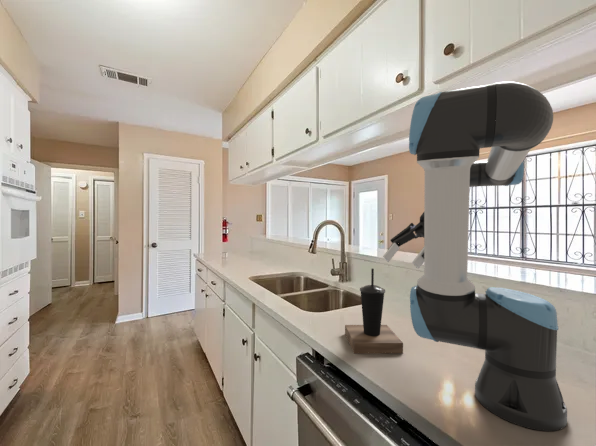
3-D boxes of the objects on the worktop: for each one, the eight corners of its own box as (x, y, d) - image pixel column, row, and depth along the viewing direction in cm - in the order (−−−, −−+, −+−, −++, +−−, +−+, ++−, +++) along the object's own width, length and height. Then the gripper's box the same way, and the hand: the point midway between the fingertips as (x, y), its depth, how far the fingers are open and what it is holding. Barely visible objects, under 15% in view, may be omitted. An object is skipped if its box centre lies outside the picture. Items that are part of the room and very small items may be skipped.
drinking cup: (379, 340, 84) (380, 271, 84) (355, 334, 89) (355, 269, 88) (388, 332, 90) (389, 268, 90) (365, 326, 95) (366, 265, 95)
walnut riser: (402, 353, 83) (403, 343, 83) (354, 353, 82) (354, 343, 82) (386, 333, 97) (386, 324, 97) (344, 333, 96) (345, 324, 96)
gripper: (475, 224, 88) (437, 277, 82) (414, 222, 111) (381, 264, 106) (463, 206, 86) (423, 259, 80) (403, 208, 109) (369, 250, 103)
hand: (399, 262), depth 93 cm, fingers open, 13 cm apart
